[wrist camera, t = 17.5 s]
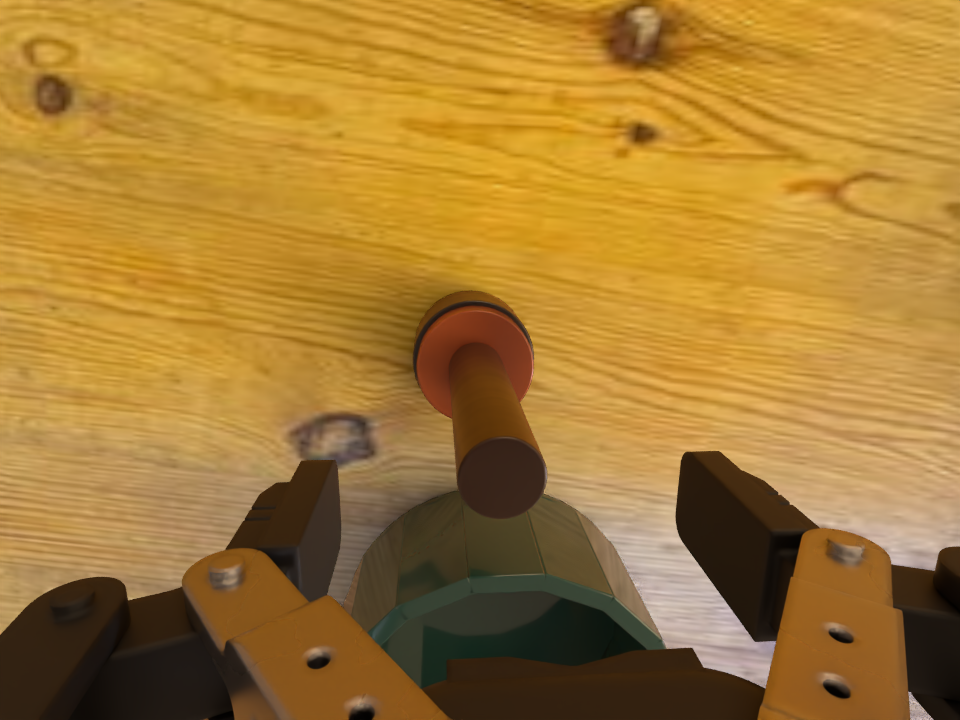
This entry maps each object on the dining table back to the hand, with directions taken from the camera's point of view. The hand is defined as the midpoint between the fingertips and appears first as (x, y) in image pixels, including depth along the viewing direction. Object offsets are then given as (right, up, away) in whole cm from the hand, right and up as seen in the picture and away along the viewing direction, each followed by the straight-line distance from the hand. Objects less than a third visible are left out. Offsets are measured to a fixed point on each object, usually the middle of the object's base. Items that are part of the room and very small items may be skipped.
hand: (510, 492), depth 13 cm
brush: (-1, +4, +14) cm, 15 cm away
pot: (0, -11, +18) cm, 21 cm away
